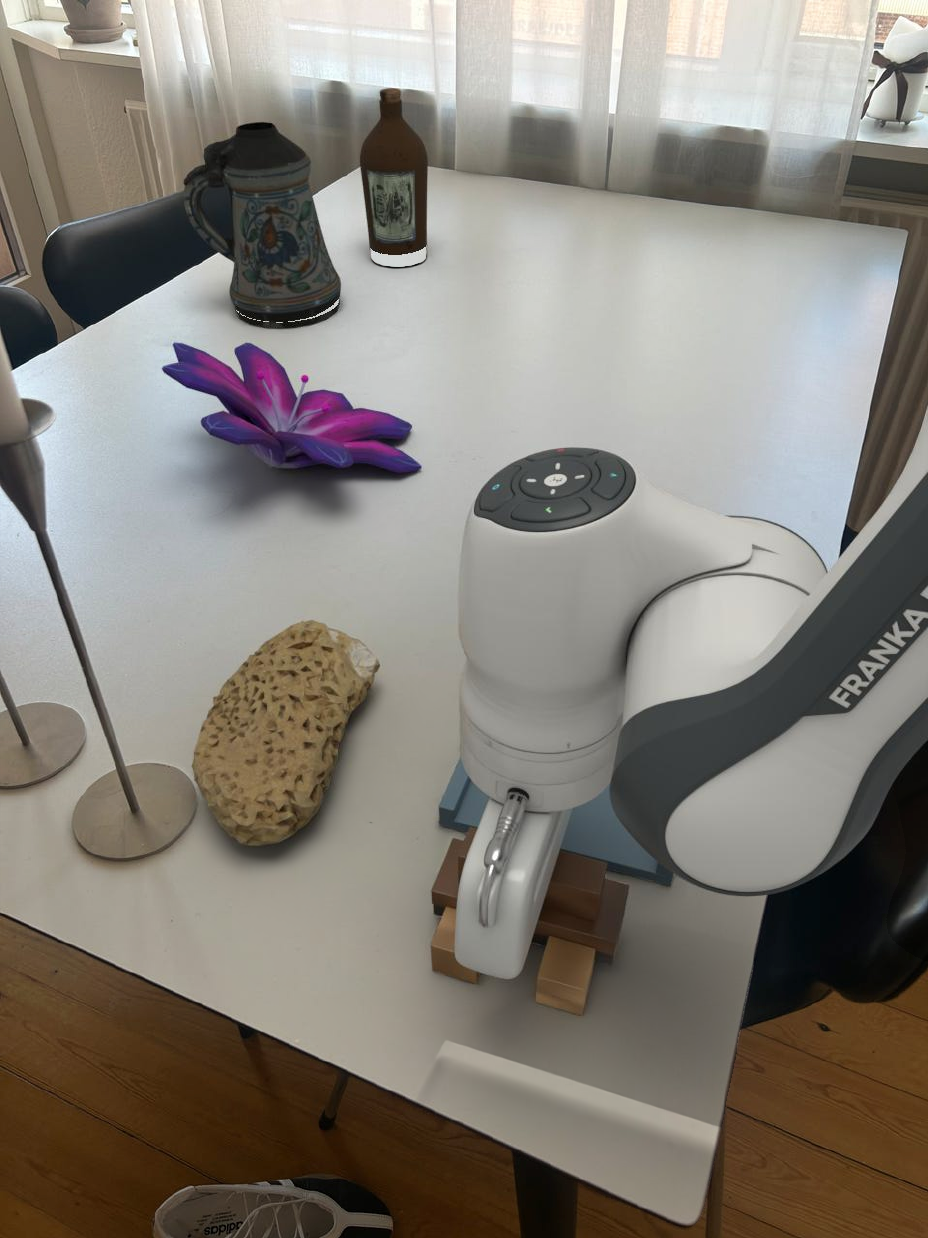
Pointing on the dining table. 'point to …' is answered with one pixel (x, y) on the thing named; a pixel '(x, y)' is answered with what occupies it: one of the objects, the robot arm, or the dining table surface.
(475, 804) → the tray
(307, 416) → the decorative flower
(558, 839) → the robot arm
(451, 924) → the brown wooden cube
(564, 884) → the brush
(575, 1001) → the light brown wooden cube
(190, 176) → the beer stein
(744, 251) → the dining table surface
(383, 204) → the olive oil
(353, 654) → the sponge
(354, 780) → the dining table surface
